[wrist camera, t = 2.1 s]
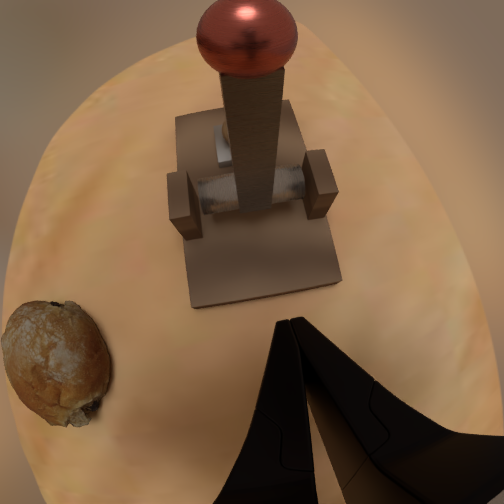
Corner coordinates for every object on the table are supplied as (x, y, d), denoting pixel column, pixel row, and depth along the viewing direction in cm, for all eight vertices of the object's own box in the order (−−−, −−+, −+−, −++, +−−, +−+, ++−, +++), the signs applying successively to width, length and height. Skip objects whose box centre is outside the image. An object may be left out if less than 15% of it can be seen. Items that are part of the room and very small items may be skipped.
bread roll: (130, 324, 23) (86, 269, 17) (123, 440, 16) (57, 423, 10) (50, 325, 23) (1, 279, 17) (34, 421, 16) (-30, 392, 10)
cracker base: (336, 283, 20) (363, 267, 14) (196, 308, 19) (174, 301, 14) (287, 110, 24) (292, 66, 19) (178, 127, 24) (163, 85, 18)
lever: (305, 217, 17) (378, 21, 5) (208, 234, 17) (119, 43, 4) (284, 140, 19) (304, -41, 6) (198, 153, 19) (146, -24, 6)
